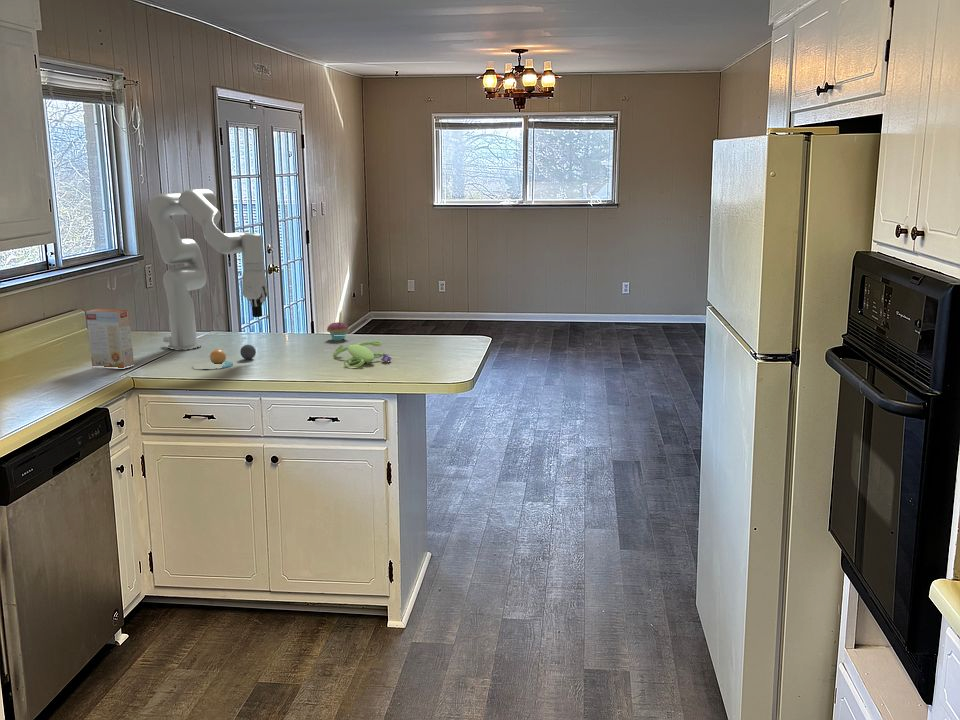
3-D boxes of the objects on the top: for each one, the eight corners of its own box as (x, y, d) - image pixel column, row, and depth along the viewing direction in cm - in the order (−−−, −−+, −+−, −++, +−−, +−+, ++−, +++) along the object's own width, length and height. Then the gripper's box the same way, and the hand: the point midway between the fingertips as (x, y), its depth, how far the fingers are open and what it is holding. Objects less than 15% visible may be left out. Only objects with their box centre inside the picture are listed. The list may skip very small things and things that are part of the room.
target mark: (184, 369, 312) (184, 368, 312) (205, 360, 325) (205, 360, 325) (220, 370, 309) (220, 370, 309) (239, 362, 322) (239, 361, 322)
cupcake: (352, 338, 362) (351, 309, 360) (341, 342, 355) (339, 312, 352) (335, 336, 366) (333, 308, 363) (323, 340, 358) (321, 311, 356)
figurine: (378, 351, 338) (378, 337, 337) (397, 365, 314) (397, 350, 313) (331, 355, 332) (330, 341, 331) (346, 370, 308) (345, 355, 306)
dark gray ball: (255, 345, 329) (252, 359, 330) (240, 342, 327) (237, 357, 327) (258, 346, 325) (255, 361, 325) (243, 344, 322) (240, 359, 322)
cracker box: (135, 366, 317) (129, 309, 312) (123, 370, 311) (117, 312, 307) (103, 364, 321) (97, 307, 317) (91, 368, 316) (85, 310, 311)
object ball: (228, 356, 322) (219, 368, 320) (215, 347, 321) (206, 360, 319) (229, 353, 317) (220, 366, 315) (216, 345, 316) (207, 357, 314)
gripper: (233, 267, 326) (237, 316, 330) (256, 269, 316) (260, 320, 320) (251, 265, 331) (254, 313, 335) (274, 267, 322) (277, 317, 326)
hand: (257, 316), depth 328 cm, fingers closed
